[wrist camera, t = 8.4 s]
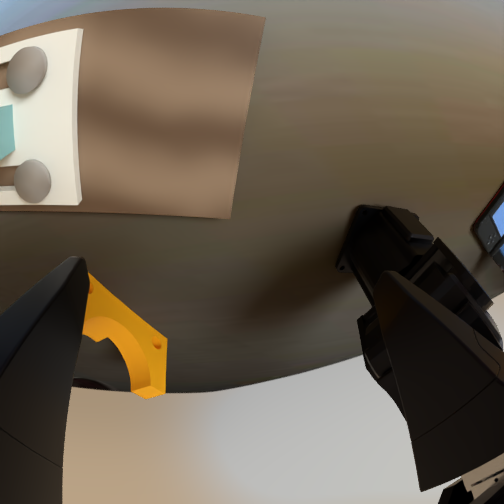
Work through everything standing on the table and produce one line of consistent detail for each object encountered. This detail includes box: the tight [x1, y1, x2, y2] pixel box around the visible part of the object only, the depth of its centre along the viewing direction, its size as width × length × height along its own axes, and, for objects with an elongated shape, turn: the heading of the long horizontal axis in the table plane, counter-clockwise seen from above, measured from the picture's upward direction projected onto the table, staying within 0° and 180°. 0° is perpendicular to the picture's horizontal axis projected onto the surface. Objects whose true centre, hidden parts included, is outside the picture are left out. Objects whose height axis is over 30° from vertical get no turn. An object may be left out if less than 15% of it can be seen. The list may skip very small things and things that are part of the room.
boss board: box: [0, 8, 266, 219], centre depth 13 cm, size 13×22×3 cm, turn 80°
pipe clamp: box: [82, 272, 167, 399], centre depth 23 cm, size 12×4×6 cm, turn 28°
